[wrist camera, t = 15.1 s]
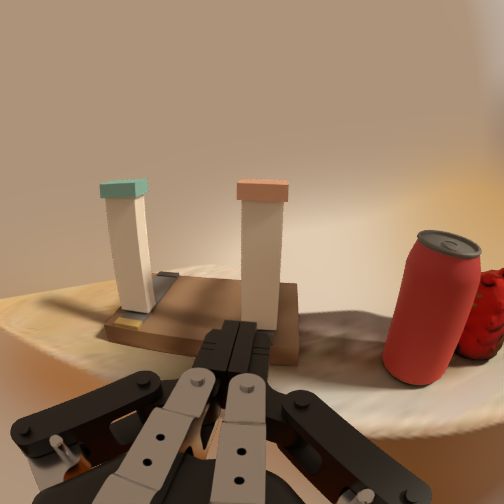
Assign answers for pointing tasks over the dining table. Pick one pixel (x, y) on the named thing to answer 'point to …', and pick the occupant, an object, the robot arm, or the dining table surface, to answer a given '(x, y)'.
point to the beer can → (432, 306)
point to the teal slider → (129, 242)
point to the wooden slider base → (201, 317)
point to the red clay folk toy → (485, 319)
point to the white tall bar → (261, 249)
